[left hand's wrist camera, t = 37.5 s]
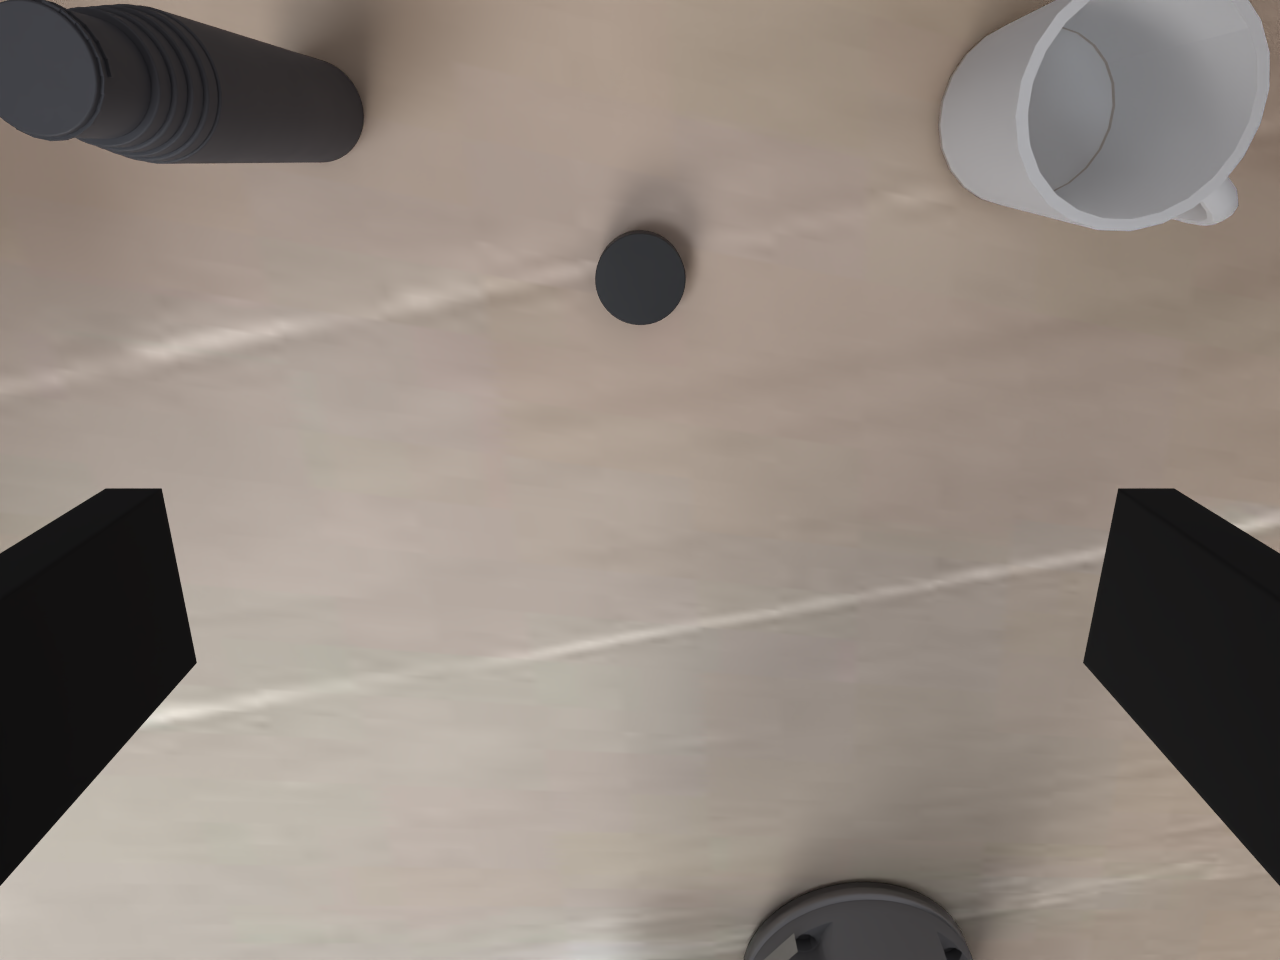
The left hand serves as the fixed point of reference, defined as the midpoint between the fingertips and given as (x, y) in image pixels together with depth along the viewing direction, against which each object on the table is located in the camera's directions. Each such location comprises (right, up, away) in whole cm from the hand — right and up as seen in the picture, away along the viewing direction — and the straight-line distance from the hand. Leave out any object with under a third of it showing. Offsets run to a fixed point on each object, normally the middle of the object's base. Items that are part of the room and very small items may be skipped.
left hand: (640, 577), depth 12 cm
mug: (+19, +18, +29) cm, 39 cm away
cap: (0, +11, +30) cm, 32 cm away
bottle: (-15, +19, +29) cm, 37 cm away
